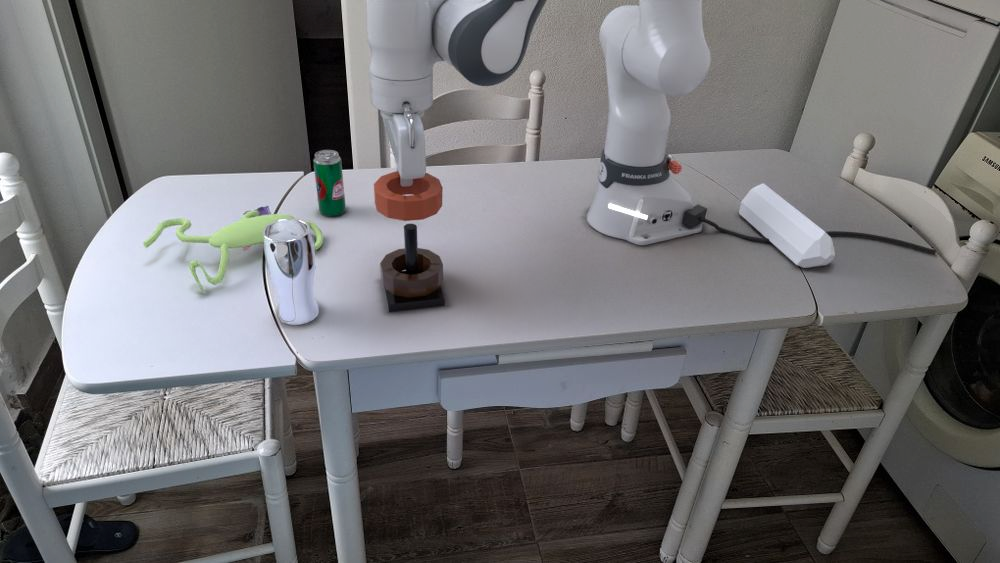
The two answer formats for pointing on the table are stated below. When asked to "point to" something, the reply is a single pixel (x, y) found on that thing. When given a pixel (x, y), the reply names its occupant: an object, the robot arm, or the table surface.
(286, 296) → the chrome cup
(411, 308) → the peg stand
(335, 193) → the soda can
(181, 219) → the pale green curved piece
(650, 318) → the table surface
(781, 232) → the crystal
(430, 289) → the walnut ring
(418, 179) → the terracotta ring
